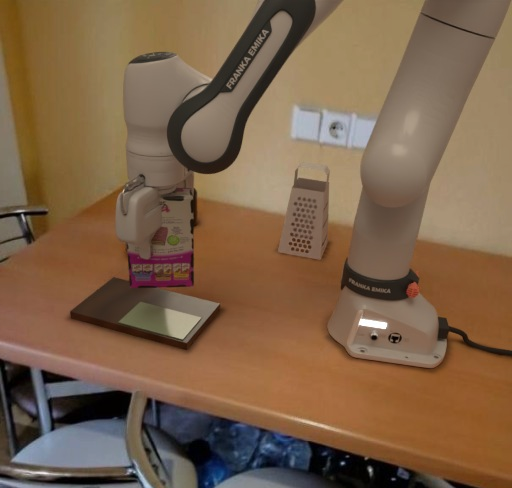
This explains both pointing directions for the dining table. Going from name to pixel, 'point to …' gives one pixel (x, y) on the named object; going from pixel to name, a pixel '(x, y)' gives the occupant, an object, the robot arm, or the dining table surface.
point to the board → (147, 312)
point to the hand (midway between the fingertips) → (158, 247)
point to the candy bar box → (167, 246)
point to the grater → (307, 215)
